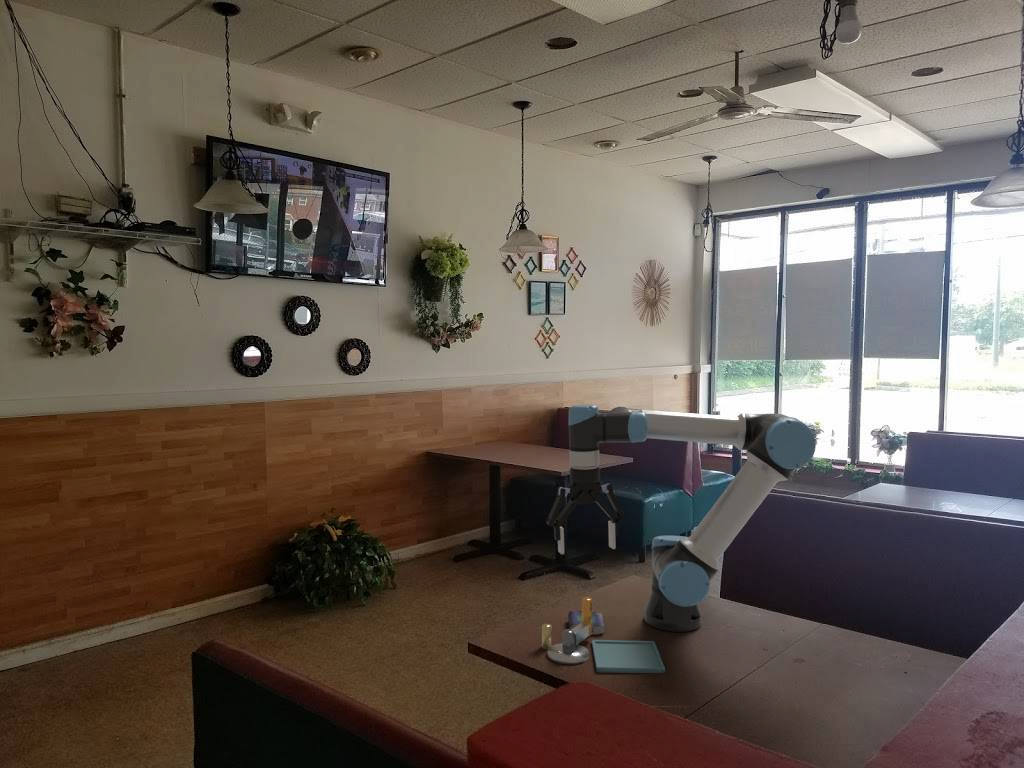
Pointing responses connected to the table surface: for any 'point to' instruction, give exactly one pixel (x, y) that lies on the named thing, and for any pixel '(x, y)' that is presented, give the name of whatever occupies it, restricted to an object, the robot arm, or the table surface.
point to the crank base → (563, 647)
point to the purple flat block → (597, 621)
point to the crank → (584, 622)
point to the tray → (627, 656)
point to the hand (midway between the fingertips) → (587, 550)
